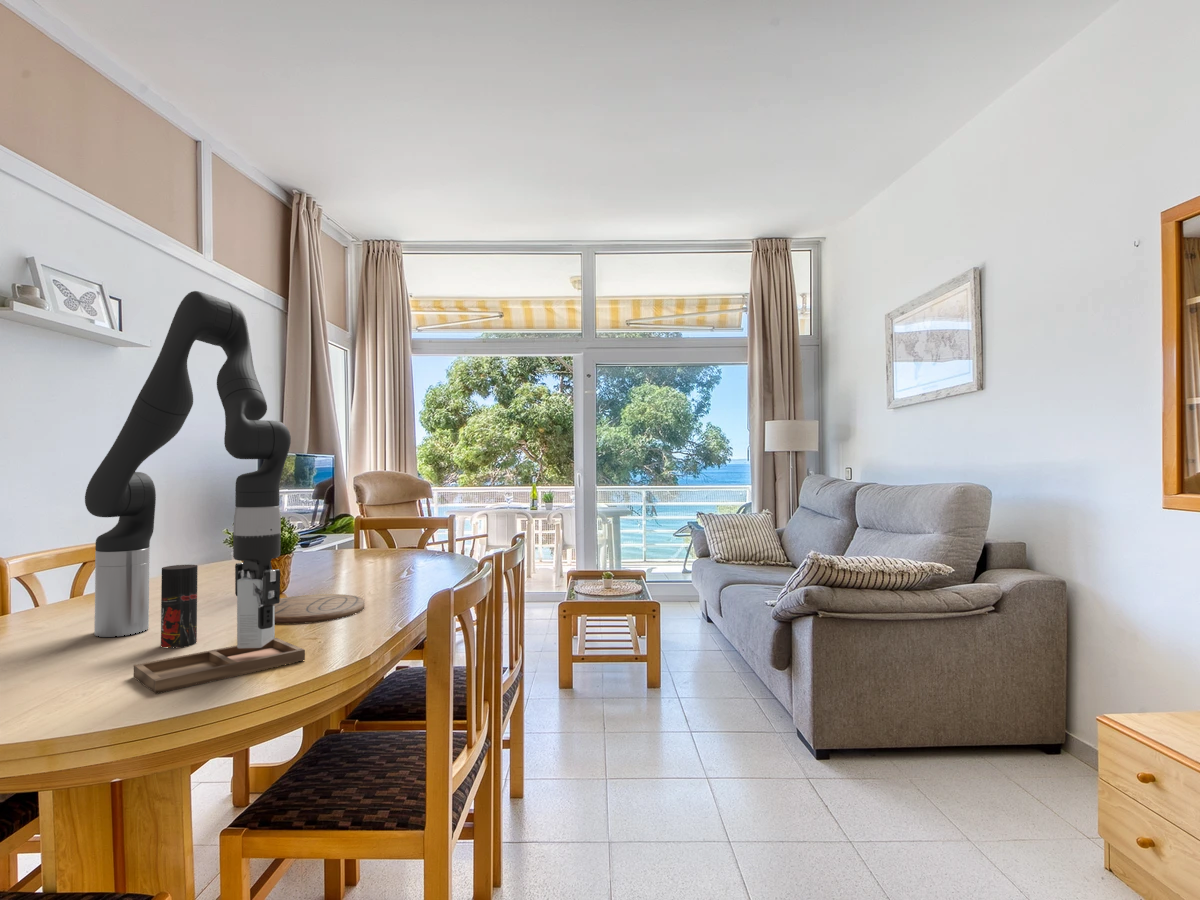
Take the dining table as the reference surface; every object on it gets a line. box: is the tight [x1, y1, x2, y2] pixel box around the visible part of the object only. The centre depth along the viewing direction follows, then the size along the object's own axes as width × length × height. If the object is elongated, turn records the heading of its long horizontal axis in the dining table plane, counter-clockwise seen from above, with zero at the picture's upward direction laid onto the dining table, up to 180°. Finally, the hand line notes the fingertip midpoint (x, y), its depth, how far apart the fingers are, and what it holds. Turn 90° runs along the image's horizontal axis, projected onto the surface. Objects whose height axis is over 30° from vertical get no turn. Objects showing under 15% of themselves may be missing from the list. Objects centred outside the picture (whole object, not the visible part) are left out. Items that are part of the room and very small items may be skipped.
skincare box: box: [236, 577, 276, 648], centre depth 120 cm, size 6×4×12 cm
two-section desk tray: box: [133, 637, 306, 695], centre depth 116 cm, size 12×23×2 cm, turn 138°
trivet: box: [274, 593, 365, 624], centre depth 160 cm, size 25×25×2 cm
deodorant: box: [160, 564, 199, 649], centre depth 131 cm, size 6×6×15 cm
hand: (256, 624), depth 120 cm, fingers closed on skincare box, 7 cm apart
